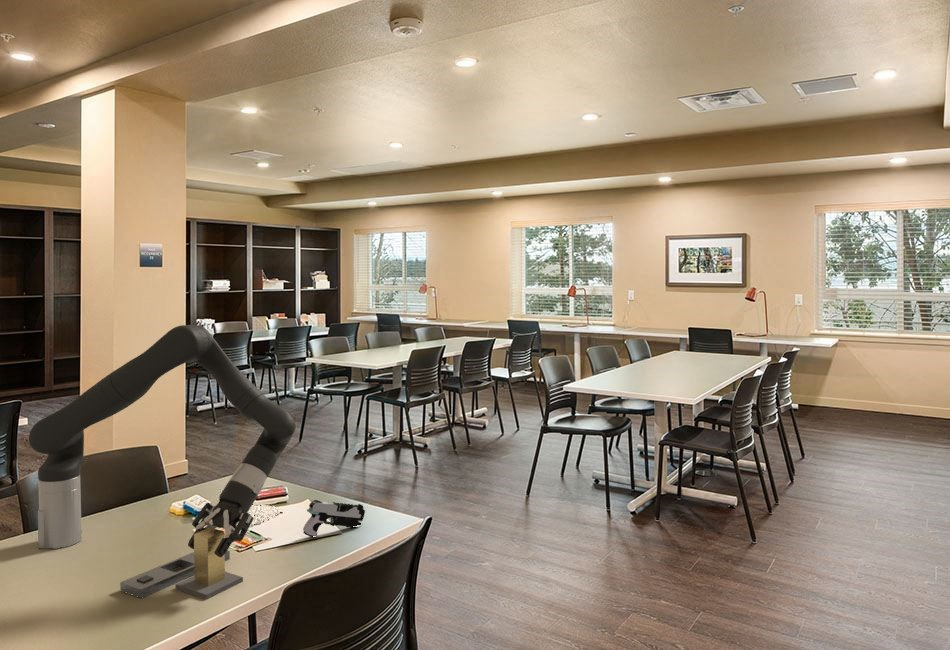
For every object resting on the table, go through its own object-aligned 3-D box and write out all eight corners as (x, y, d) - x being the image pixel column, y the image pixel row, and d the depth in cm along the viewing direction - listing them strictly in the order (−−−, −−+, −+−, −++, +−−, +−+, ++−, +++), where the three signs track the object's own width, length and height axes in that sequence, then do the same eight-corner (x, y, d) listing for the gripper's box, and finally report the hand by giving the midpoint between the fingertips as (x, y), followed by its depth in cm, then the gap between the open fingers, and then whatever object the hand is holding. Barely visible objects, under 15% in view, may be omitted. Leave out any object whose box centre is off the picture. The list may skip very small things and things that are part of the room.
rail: (141, 598, 146) (140, 588, 145) (120, 591, 149) (120, 580, 149) (229, 559, 167) (229, 549, 167) (209, 553, 170) (209, 544, 170)
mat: (206, 599, 146) (206, 594, 146) (175, 588, 150) (175, 584, 150) (242, 581, 155) (242, 577, 154) (212, 571, 159) (212, 567, 159)
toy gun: (357, 542, 189) (367, 506, 190) (303, 537, 179) (313, 500, 180) (354, 539, 191) (363, 504, 192) (299, 535, 180) (309, 497, 182)
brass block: (208, 586, 149) (207, 537, 149) (194, 582, 152) (193, 533, 151) (224, 578, 153) (224, 531, 153) (211, 574, 156) (210, 527, 155)
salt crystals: (291, 513, 202) (291, 507, 202) (243, 533, 184) (243, 527, 184) (239, 503, 211) (240, 497, 210) (189, 521, 193) (189, 516, 193)
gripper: (213, 474, 161) (172, 537, 152) (257, 484, 154) (216, 550, 145) (231, 490, 166) (192, 552, 157) (274, 500, 159) (236, 565, 150)
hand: (204, 551), depth 151 cm, fingers open, 8 cm apart
